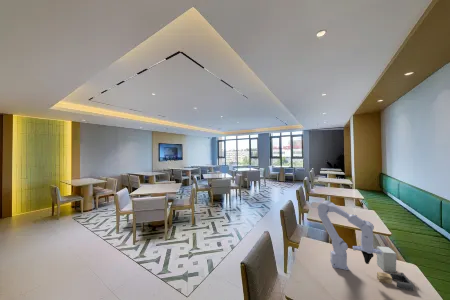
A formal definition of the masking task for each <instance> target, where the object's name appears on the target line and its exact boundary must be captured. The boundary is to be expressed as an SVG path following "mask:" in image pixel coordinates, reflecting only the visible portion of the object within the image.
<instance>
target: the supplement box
mask: <svg viewBox="0 0 450 300" xmlns="http://www.w3.org/2000/svg"><path fill="white" fill-rule="evenodd" d="M376 249H378V250H381V251H382V255H380V254H377V253H376V265H377V266H378V267H379V268H380V269H382V271H383V272H389V273H397V253H396V252H395V251H394V250H393V249H392V248H390V247H389V246H378V245H377V246H376Z"/></svg>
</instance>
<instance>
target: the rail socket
mask: <svg viewBox="0 0 450 300" xmlns="http://www.w3.org/2000/svg"><path fill="white" fill-rule="evenodd" d="M389 274H390V276H391V277H392V280H395V281H396V288H398V289H400V290H406V291H411V292H414V289H415V288H414V287H415V286H414V284H413V283H412V282H411V280H410V279H409V278H408V277H407V276H406V275H405V274H404V273H403V272H400V273H396V272H389Z"/></svg>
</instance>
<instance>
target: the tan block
mask: <svg viewBox="0 0 450 300" xmlns="http://www.w3.org/2000/svg"><path fill="white" fill-rule="evenodd" d="M376 272H377V273H376V279H377V280H378V281H379V282H381V283H385V284H390V285H393V279H392V277H391V276H390V273H386V272H381V271H376Z"/></svg>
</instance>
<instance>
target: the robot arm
mask: <svg viewBox="0 0 450 300" xmlns="http://www.w3.org/2000/svg"><path fill="white" fill-rule="evenodd" d="M316 208H317V211H318V212H317V214H318V217H319V219H320V221H321V222H322V225H323V226H324V228H325V230H326V232H327V234H328V235H329V238H330V239H331V246H332V248H333V250H331V251H330V263H331V266H332V268H334V269H340V270H344V271H349V270H350V269H349V266H348V254H347V250H348V249H349V246H348V243H346V242H345V241H344V240H343V238H341V236H339V234H338V232H337V230H336V228H335V227H334V225H333V223H332V221H331V219H330V218H329V216H328V214H329V213H336V214H338V215H339V216H341V217H342V218H345V219H347V221H348V223H350V224H352V225H353V226H355V227H356V228H358V229H359V230H360V231H361V235H360V236H361V238H360V241H361V243H360V244H361V245H352V250H353V251H358V252H359V251H360V253H361V254H362V257H363V259H364V262H365V264H366V265H369V264H370V261H371V259H372V258H373V257H374V254H376V255H377V254H380V255H382V251H381V250H378V249H377V248H374V232H373V231H374V230H375V229H374V228H375V225H374V224H373V223H372V222H371V221H368V220H365V219H363V218H360V217H359V216H358V215H356V214H352V213H351V214H350V213H348V212H347V211H345V210H344V209H342V208H340V207H339V206H338V205H336V204H335V203H334V202H332V201H330V200H327V199H326V200H324V201H322V202H320V203H319V204H318V205H317V207H316Z"/></svg>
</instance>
